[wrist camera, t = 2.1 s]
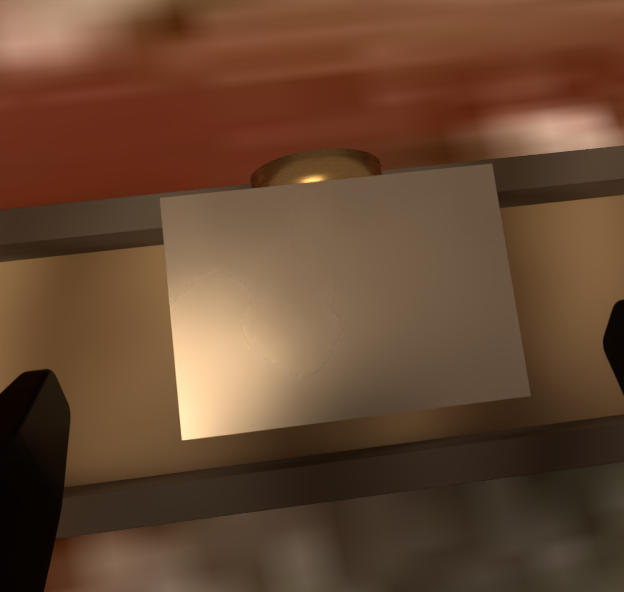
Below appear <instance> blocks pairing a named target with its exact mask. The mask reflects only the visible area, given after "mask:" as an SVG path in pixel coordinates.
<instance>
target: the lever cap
mask: <svg viewBox="0 0 624 592" xmlns="http://www.w3.org/2000/svg"><path fill="white" fill-rule="evenodd" d="M160 206H161V217H162V228H163V238H164V249H165V260H166V271H167V282H168V293H169V304H170V315H171V326H172V337H173V348H174V359H175V370H176V381H177V392H178V403H179V414H180V425H181V436H182V440H190V439H197V438H205V437H213V436H221V435H229V434H237V433H245V432H252V431H260V430H268V429H276V428H284V427H292V426H299V425H307V424H315V423H323V422H331V421H339V420H346V419H354V418H362V417H370V416H378V415H386V414H393V413H401V412H409V411H417V410H425V409H433V408H441V407H448V406H456V405H464V404H472V403H480V402H488V401H495V400H503V399H511V398H519V397H527V396H531V394H530V388H529V382H528V376H527V370H526V364H525V358H524V352H523V346H522V340H521V334H520V328H519V322H518V316H517V310H516V304H515V298H514V292H513V286H512V280H511V274H510V268H509V262H508V256H507V250H506V244H505V238H504V232H503V226H502V220H501V214H500V208H499V202H498V196H497V190H496V184H495V178H494V172H493V166H492V164H483V165H473V166H463V167H454V168H444V169H434V170H425V171H415V172H405V173H396V174H386V175H382V170H381V163H380V160H379V159H378V158H377V157H376V156H374V155H373V154H370V153H368V152H364V151H360V150H353V149H320V150H311V151H305V152H300V153H295V154H291V155H287V156H284V157H281V158H278V159H275V160H273V161H270V162H268V163H266V164H264V165H262V166H261V167H259V168H258V169H257V170H256V171H254V173H253V174H252V176H251V189H241V190H232V191H222V192H212V193H203V194H193V195H183V196H174V197H164V198H160Z"/></svg>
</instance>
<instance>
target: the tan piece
mask: <svg viewBox="0 0 624 592" xmlns="http://www.w3.org/2000/svg"><path fill="white" fill-rule="evenodd" d="M483 164H492V166H493V172H494V178H495V184H496V190H497V196H498V202H499V208H500V214H501V220H502V226H503V232H504V238H505V244H506V250H507V256H508V262H509V268H510V274H511V280H512V286H513V292H514V298H515V304H516V310H517V316H518V322H519V328H520V334H521V340H522V346H523V352H524V358H525V364H526V370H527V376H528V382H529V388H530V394H531V396H527V397H519V398H511V399H503V400H495V401H488V402H480V403H472V404H464V405H456V406H448V407H441V408H433V409H425V410H417V411H409V412H401V413H393V414H386V415H378V416H370V417H362V418H354V419H346V420H339V421H331V422H323V423H315V424H307V425H299V426H292V427H284V428H276V429H268V430H260V431H252V432H245V433H237V434H229V435H221V436H213V437H205V438H197V439H190V440H182V436H181V425H180V414H179V403H178V392H177V381H176V370H175V359H174V348H173V337H172V326H171V315H170V304H169V293H168V282H167V271H166V260H165V249H164V238H163V228H162V217H161V206H160V198H164V197H174V196H183V195H193V194H203V193H212V192H222V191H232V190H241V189H251V184H247V185H237V186H227V187H218V188H208V189H198V190H189V191H179V192H169V193H159V194H150V195H140V196H130V197H121V198H111V199H101V200H92V201H82V202H72V203H62V204H53V205H43V206H33V207H24V208H14V209H4V210H0V393H1V392H2V391H3V390H4V389H5V388H6V387H7V386H8V385H9V384H11V383H12V382H13V381H14V380H15V379H16V378H17V377H18V376H19V375H20V374H22V373H23V372H26V371H32V370H40V369H50V370H52V371H53V372H54V373H55V375H56V377H57V379H58V381H59V383H60V386H61V388H62V390H63V392H64V394H65V397H66V399H67V401H68V404H69V407H70V412H71V422H70V432H69V442H68V453H67V463H66V474H65V484H64V494H63V502H62V510H61V515H60V520H59V525H58V530H57V534H56V539H57V538H64V537H71V536H79V535H86V534H93V533H101V532H108V531H116V530H123V529H130V528H138V527H145V526H152V525H160V524H167V523H175V522H182V521H189V520H197V519H204V518H211V517H219V516H226V515H234V514H241V513H248V512H256V511H263V510H271V509H278V508H285V507H293V506H300V505H307V504H315V503H322V502H330V501H337V500H344V499H352V498H359V497H366V496H374V495H381V494H389V493H396V492H403V491H411V490H418V489H425V488H433V487H440V486H448V485H455V484H462V483H470V482H477V481H485V480H492V479H499V478H507V477H514V476H521V475H529V474H536V473H544V472H551V471H558V470H566V469H573V468H580V467H588V466H595V465H603V464H610V463H617V462H624V395H623V393H622V391H621V388H620V386H619V384H618V382H617V380H616V377H615V375H614V373H613V371H612V368H611V366H610V364H609V362H608V359H607V357H606V355H605V352H604V349H603V336H604V333H605V330H606V327H607V324H608V320H609V317H610V314H611V311H612V308H613V306H614V304H615V303H616V302H617V301H619V300H623V299H624V146H615V147H606V148H596V149H586V150H577V151H567V152H557V153H548V154H538V155H528V156H518V157H509V158H499V159H489V160H480V161H470V162H460V163H451V164H441V165H431V166H421V167H412V168H402V169H392V170H383V171H382V175H386V174H396V173H405V172H415V171H425V170H434V169H444V168H454V167H463V166H473V165H483Z"/></svg>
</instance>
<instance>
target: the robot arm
mask: <svg viewBox="0 0 624 592" xmlns="http://www.w3.org/2000/svg"><path fill="white" fill-rule="evenodd" d="M603 349H604V352H605V355H606V357H607V359H608V362H609V364H610V366H611V368H612V371H613V373H614V375H615V377H616V380H617V382H618V384H619V386H620V388H621V391H622V393H623V395H624V299H623V300H619V301H617V302H616V303H615V304H614V306H613V308H612V311H611V314H610V317H609V320H608V324H607V327H606V330H605V333H604V336H603ZM70 422H71V412H70V407H69V404H68V401H67V399H66V397H65V394H64V392H63V390H62V388H61V386H60V383H59V381H58V379H57V377H56V375H55V373H54V372H53V371H52V370H50V369H40V370H32V371H26V372H23V373H22V374H20V375H19V376H18V377H17V378H16V379H15V380H14V381H13V382H12V383H11V384H9V385H8V386H7V387H6V388H5V389H4V390H3V391H2V392H1V393H0V592H44V589H45V584H46V580H47V575H48V571H49V566H50V562H51V557H52V553H53V548H54V543H55V539H56V534H57V530H58V525H59V520H60V515H61V510H62V502H63V494H64V484H65V474H66V463H67V453H68V442H69V432H70Z"/></svg>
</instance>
